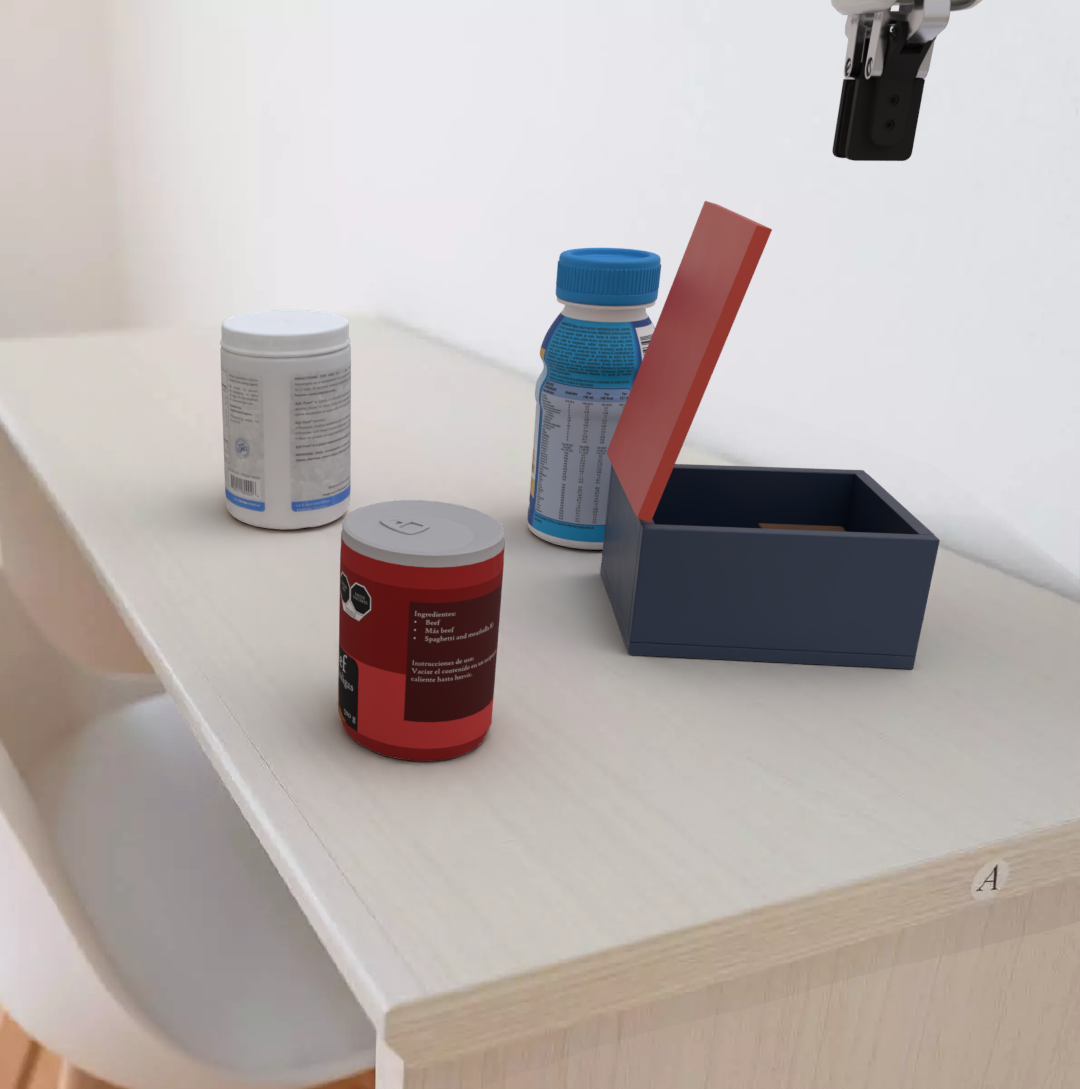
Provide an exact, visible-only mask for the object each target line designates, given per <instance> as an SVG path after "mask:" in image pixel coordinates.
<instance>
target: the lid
mask: <svg viewBox="0 0 1080 1089" xmlns="http://www.w3.org/2000/svg"><path fill="white" fill-rule="evenodd" d="M772 230H773V229H772V228H770V227H768V226H766V225H764V224H762V223H760V222H757V221H756V220H753V219H751V218H748V217H746V216H744V215H741V214H740V213H738V212H735V211H733V210H731V209H729V208H727V207H724V206H722V205H721V204H718V203H715V202H711V201H708V200H705V201H704V202H703V205H702V207H701V210H700V212H699V215H698V217H697V220H696V222H695V225H694V227H693V230H692V232H691V236H690V238H689V240H688V243H687V245H686V248H685V251H684V253H683V254H682V255H683V256H682V258H681V260H680V263H679V266H678V268H677V270H676V274H675V276H674V279H673V281H672V284H671V286H670V289H669V291H668V294H667V297H666V298H665V302H664V304H663V306H662V309H661V312H660V315H659V317H658V319H657V322H656V325H655V326H654V327H655V330H654V332H653V335H652V337H651V340H650V343H649V345H648V348H647V350H646V353H645V355H644V358H643V360H642V363H641V366H640V368H639V371H638V373H637V376H636V378H635V381H634V383H633V386H632V389H631V391H630V394H629V396H628V399H627V401H626V404H625V407H624V409H623V412H622V414H621V417H620V419H619V422H618V424H617V427H616V430H615V432H614V435H613V437H612V440H611V442H610V445H609V448H608V450H607V455H608V457H609V459H610V461H611V464H612V466H613V468H614V470H615V472H616V474H617V476H618V478H619V481H620V483H621V485H622V487H623V489H624V491H625V493H626V495H627V498H628V500H629V502H630V504H631V506H632V508H633V510H634V512H635V515H636V517H637V518H638V519H641V520H645V521H648V522H651V520H652V518H653V516H654V513H655V511H656V508H657V506H658V504H659V501H660V499H661V496H662V494H663V492H664V489H665V487H666V484H667V482H668V479H669V477H670V475H671V472H672V470H673V467H674V465H675V464H677V460H678V459H679V458H678V457H679V456H680V453H681V450H682V448H683V446H684V443H685V441H686V439H687V436H688V434H689V431H690V429H691V426H692V424H693V422H694V420H695V417H696V414H697V412H698V409H699V407H700V405H701V403H702V400H703V397H704V395H705V392H706V390H707V388H708V385H709V384H710V381H711V378H712V375H713V373H714V372H715V369H716V366H717V364H718V361H719V359H720V356H721V354H722V351H723V349H724V347H725V345H726V342H727V340H728V338H729V334H730V333H731V330H732V327H733V325H734V323H735V321H736V318H737V315H738V313H739V310H740V308H741V306H742V304H743V301H744V298H745V296H746V293H747V291H748V289H749V287H750V284H751V282H752V279H753V277H754V274H755V272H756V269H757V267H758V266H759V265H758V264H759V263H760V260H761V258H762V256H763V253H764V251H765V248H766V245H767V243H768V241H769V238H770V236H771V234H772Z"/></svg>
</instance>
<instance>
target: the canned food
mask: <svg viewBox="0 0 1080 1089" xmlns="http://www.w3.org/2000/svg"><path fill="white" fill-rule="evenodd" d="M505 543H506V541H505V529H504V526H503V525H502V524H501V523H500V522H499V521H498V520H497V519H495V518H494V517H492V516H490V515H488V514H487V513H484V512H481V511H480V510H477V509H473V508H471V507H467V506H464V505H459V504H455V503H449V502H444V501H435V500H424V499H423V500H418V499H417V500H416V499H405V500H390V501H380V502H377V503H373V504H368V505H365V506H362V507H359V508H357V509H355V510H353V511H350V512H349V513H348V514H347V515H346V516H345V517H344V519H343V521H342V529H341V532H340V553H339V607H338V608H339V610H338V611H339V614H338V618H339V619H338V673H337V674H338V679H337V680H338V682H337V684H338V685H337V709H338V715H339V717H340V720H341V723H342V726H343V728H344V730H345V732H346V734H347V735H348V736H349V737H350V738H351V739H352V740H353V741H355V742H356V743H357V744H359V745H361V747H364V748H366V749H368V750H370V751H371V752H374V753H377V754H379V755H382V756H385V757H389V758H393V759H398V760H404V761H411V762H412V761H413V762H436V761H445V760H449V759H455V758H458V757H461V756H464V755H466V754H468V753H470V752H472V751H473V750H475V749H477V748H478V747H479V746H481V744H482V743H483V742H484V741H485V738H486V736H487V734H488V732H489V730H490V727H491V725H492V722H493V709H494V698H495V697H494V696H495V685H496V684H495V681H496V669H497V657H498V644H499V631H500V618H501V605H502V604H501V603H502V593H503V592H502V591H503V581H504V580H503V578H504V566H505V546H506V544H505Z"/></svg>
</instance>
